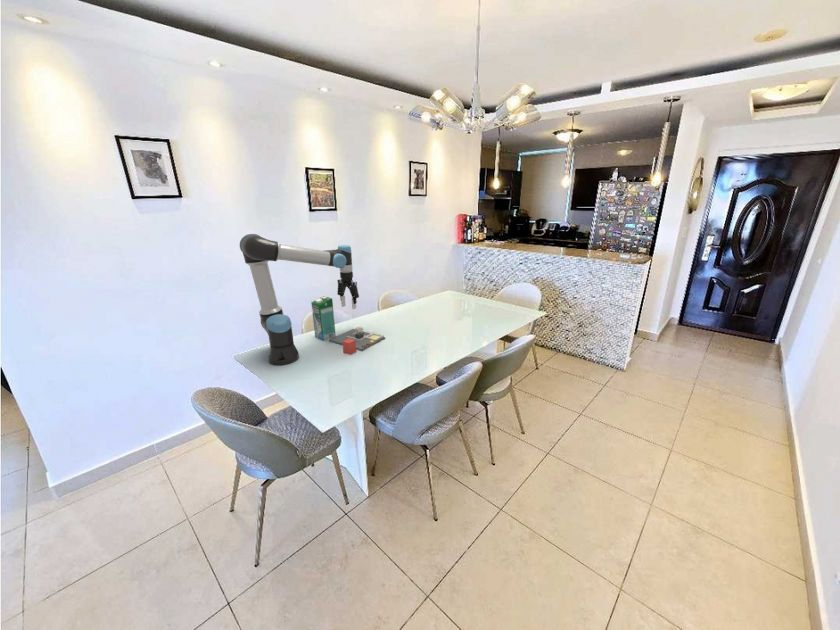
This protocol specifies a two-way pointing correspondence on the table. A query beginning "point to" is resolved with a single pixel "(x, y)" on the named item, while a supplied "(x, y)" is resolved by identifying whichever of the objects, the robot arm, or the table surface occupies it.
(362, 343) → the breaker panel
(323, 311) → the milk carton
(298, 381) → the table surface
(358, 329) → the cream orange-banded box
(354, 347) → the red rectangular block
